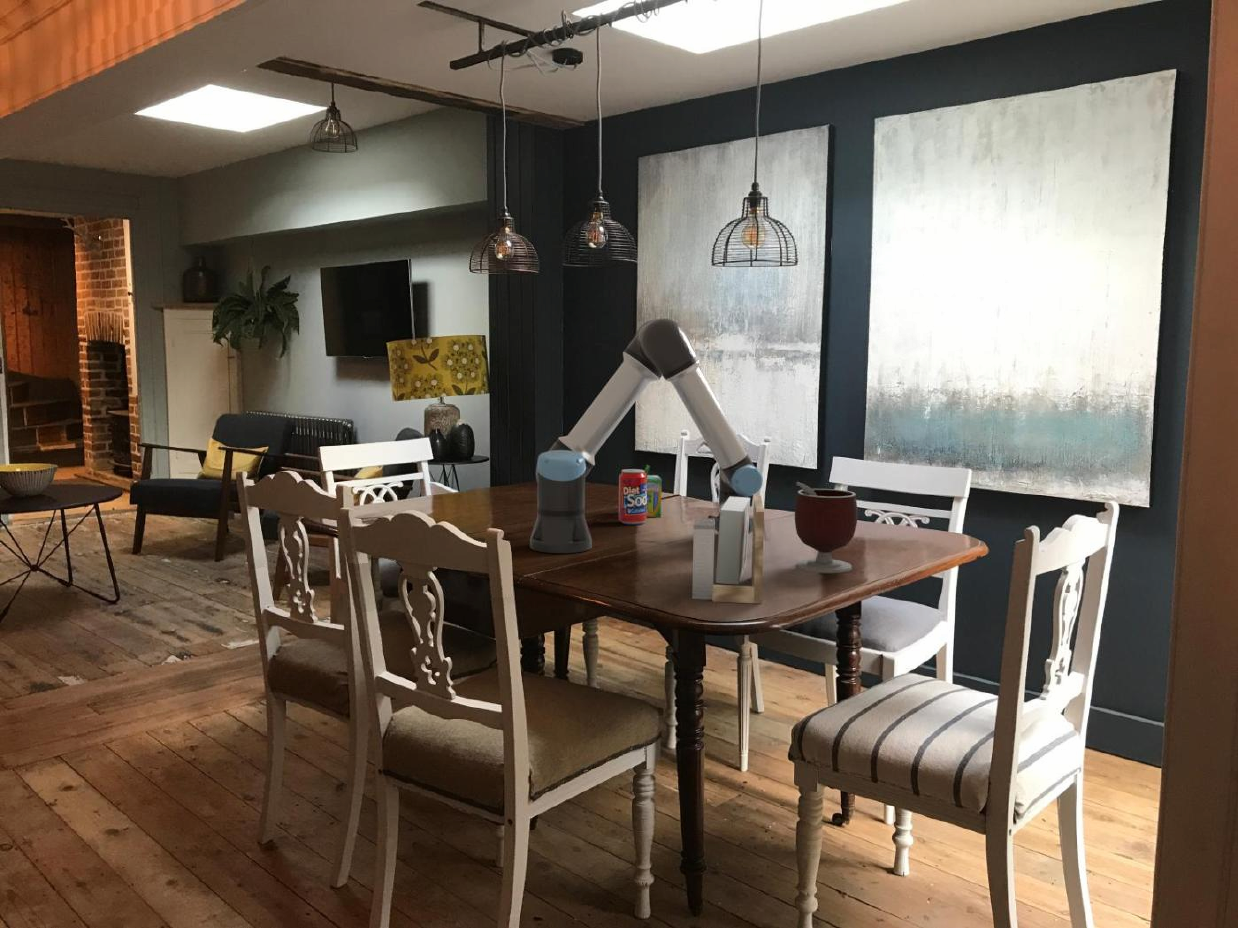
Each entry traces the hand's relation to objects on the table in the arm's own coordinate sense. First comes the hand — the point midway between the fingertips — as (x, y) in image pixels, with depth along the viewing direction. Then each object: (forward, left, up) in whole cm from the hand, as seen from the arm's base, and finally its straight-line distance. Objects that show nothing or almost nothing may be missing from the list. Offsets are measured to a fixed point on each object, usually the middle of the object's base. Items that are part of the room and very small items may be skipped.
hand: (734, 533), depth 230 cm
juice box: (-26, +63, -7) cm, 69 cm away
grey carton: (-6, -31, -7) cm, 32 cm away
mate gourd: (+20, -1, -7) cm, 21 cm away
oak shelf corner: (0, -25, -7) cm, 26 cm away
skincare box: (0, -11, -7) cm, 13 cm away
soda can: (-28, +49, -7) cm, 57 cm away
